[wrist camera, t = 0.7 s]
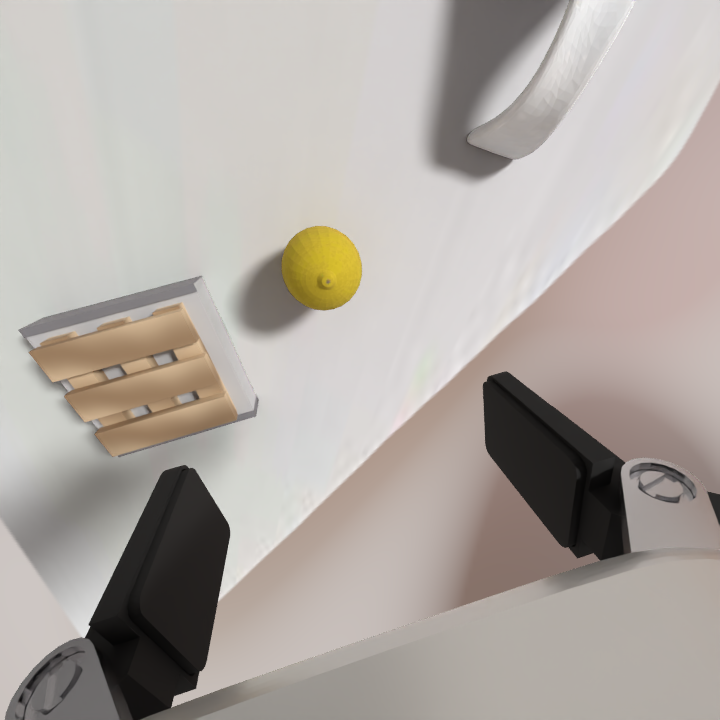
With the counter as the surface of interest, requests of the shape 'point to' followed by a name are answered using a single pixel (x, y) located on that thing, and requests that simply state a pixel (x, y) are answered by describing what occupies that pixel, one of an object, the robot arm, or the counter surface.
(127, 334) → the pallet
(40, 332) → the dock
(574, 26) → the spoon rest
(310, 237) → the lemon
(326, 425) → the counter surface
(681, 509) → the robot arm
